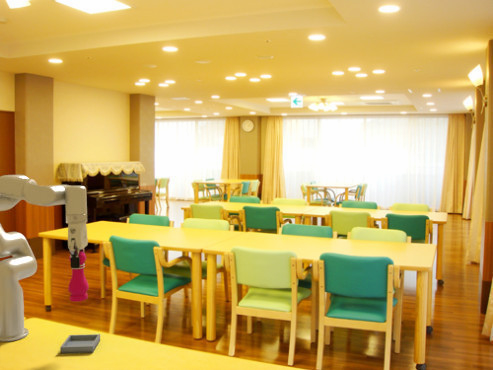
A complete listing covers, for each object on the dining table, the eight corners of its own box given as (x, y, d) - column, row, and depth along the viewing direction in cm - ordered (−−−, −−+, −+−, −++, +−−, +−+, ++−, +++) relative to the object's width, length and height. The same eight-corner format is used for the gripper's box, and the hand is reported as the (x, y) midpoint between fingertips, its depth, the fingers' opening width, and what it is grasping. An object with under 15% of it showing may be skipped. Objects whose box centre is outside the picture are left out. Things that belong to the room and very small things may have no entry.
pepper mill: (80, 295, 185) (78, 244, 184) (92, 298, 181) (91, 246, 180) (64, 300, 179) (62, 247, 178) (77, 303, 175) (75, 249, 174)
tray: (60, 353, 175) (60, 347, 175) (69, 341, 187) (69, 335, 187) (93, 352, 176) (92, 346, 176) (100, 340, 188) (100, 334, 188)
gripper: (80, 221, 170) (81, 271, 171) (92, 215, 187) (93, 260, 188) (59, 221, 169) (60, 271, 170) (73, 215, 186) (74, 260, 188)
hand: (77, 265), depth 179 cm, fingers closed on pepper mill, 6 cm apart
